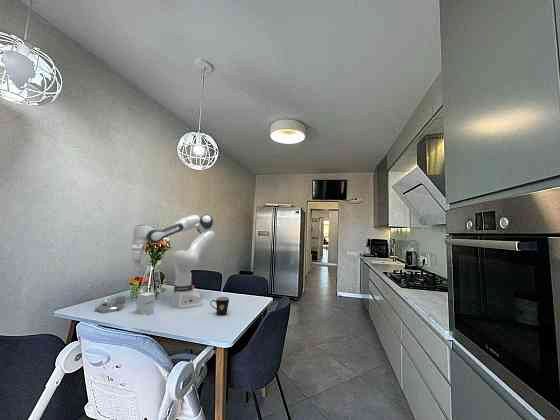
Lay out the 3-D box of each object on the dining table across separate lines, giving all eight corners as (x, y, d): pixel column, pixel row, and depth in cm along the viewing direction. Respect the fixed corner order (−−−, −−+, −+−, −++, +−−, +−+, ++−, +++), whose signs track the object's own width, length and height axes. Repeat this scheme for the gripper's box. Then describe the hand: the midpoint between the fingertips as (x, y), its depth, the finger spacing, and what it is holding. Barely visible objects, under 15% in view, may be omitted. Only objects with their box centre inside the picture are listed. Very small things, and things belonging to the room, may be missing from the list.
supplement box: (143, 316, 147) (145, 295, 148) (135, 314, 150) (137, 294, 151) (153, 313, 154) (155, 293, 155) (145, 311, 156) (147, 291, 158)
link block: (125, 302, 161) (125, 295, 161) (124, 304, 157) (124, 296, 158) (116, 303, 159) (117, 296, 159) (115, 304, 156) (116, 297, 156)
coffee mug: (230, 312, 160) (231, 297, 161) (223, 316, 152) (224, 301, 153) (216, 310, 164) (217, 295, 165) (208, 314, 156) (209, 298, 157)
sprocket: (113, 303, 164) (114, 296, 164) (130, 307, 158) (131, 300, 159) (89, 310, 150) (90, 302, 150) (107, 314, 144) (108, 306, 144)
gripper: (136, 245, 182) (135, 263, 181) (131, 247, 163) (129, 267, 162) (146, 245, 184) (144, 263, 183) (141, 247, 165) (139, 267, 164)
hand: (137, 265), depth 172 cm, fingers open, 8 cm apart
